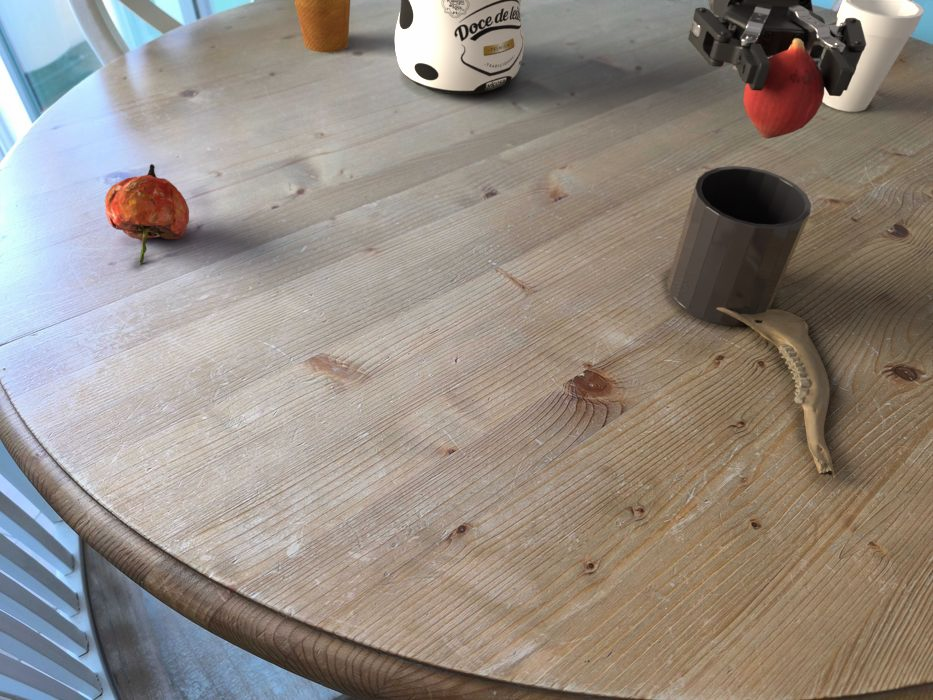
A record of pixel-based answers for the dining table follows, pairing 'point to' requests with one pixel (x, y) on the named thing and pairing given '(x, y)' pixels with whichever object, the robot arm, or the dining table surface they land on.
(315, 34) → the disposable coffee cup
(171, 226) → the orange pumpkin
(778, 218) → the tumbler
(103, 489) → the dining table surface
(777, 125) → the onion
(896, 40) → the foam cup
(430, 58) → the doce de leite jar
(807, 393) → the jawbone
